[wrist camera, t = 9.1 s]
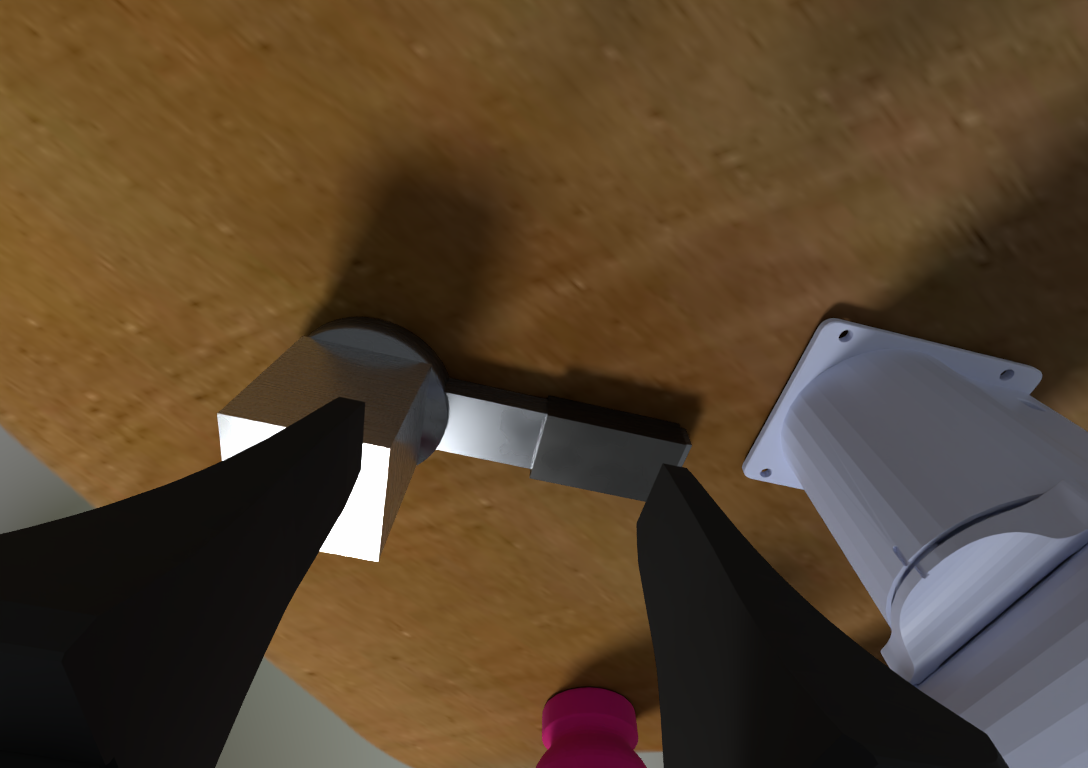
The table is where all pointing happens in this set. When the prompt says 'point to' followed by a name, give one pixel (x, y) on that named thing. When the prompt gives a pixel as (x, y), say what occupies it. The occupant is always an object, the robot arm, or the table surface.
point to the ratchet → (526, 423)
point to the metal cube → (389, 426)
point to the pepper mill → (589, 730)
